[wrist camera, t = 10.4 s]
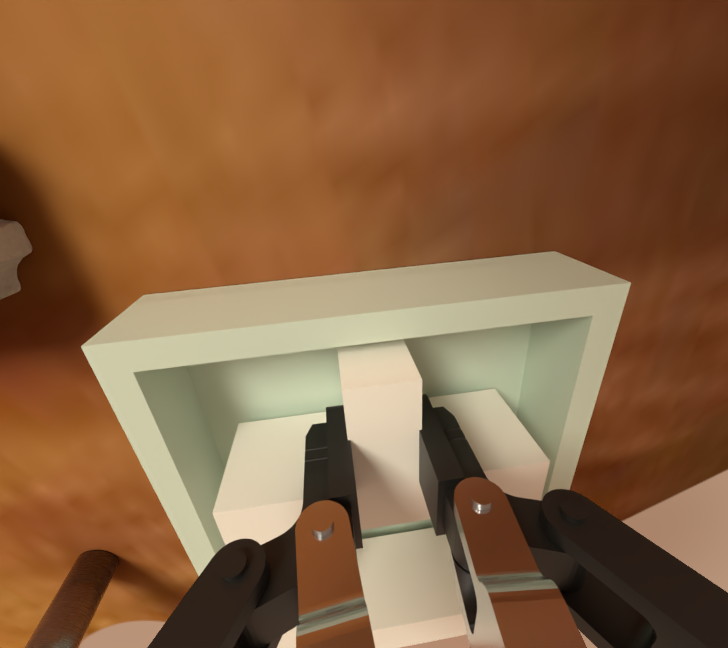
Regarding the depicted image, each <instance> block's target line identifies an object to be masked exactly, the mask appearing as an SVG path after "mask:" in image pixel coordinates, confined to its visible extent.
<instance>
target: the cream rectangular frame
mask: <svg viewBox="0 0 728 648" xmlns="http://www.w3.org/2000/svg"><path fill="white" fill-rule="evenodd" d="M337 350H338V360H339V369H340V379H341V388H342V397H343V405H344V413H345V422H346V430H347V438H348V440H351V449H352V457H353V465H354V474H355V482H356V491H357V499H358V508H359V517H360V525H361V530H366V529H372V528H378V527H384V526H390V525H397V524H403V523H409V522H415V521H421V520H427V519H431V518H430V515H429V512H428V509H427V506H426V502H425V499H424V496H423V493H422V489H421V486H420V483H419V430H422V378H421V376H420V374H419V372H418V369H417V367H416V365H415V363H414V361H413V359H412V357H411V355H410V352H409V350H408V348H407V346H406V344H405V342H404V340H403V339H400V340H391V341H383V342H375V343H367V344H359V345H351V346H343V347H337ZM429 400H430V402H431V405H432V407H433V408H435V407H444V408H446V409H447V410H448V411H449V412H450V413H452V414H453V415H454V416H455V418H456V420H457V422H458V424H459V426H460V429H461V430H462V431H463V433H464V435H465V438H466V439H467V441H468V443H469V445H470V447H471V449H472V450H473V452H474V454H475V456H476V458H477V460H478V462H479V464H480V466H481V468H482V470H483V471H484V473H485V475H486V477H487V478H488V480H489V481H491V482H493V483H495V484H496V485H497V486H499V487H500V488H501V489H502V491H503V492H504V493H507V494H509V495H512V496H516V497H521V498H528V499H534V500H541V497H542V493H543V489H544V485H545V481H546V477H547V473H548V468H549V464H550V460H549V459H548V458H547V456H546V455H545V454H544V452H543V451H542V450H541V448H540V447H539V446H538V444H537V443H536V442H535V440H534V439H533V438H532V437H531V435H530V434H529V433H528V431H527V430H526V429H525V427H524V426H523V425H522V423H521V422H520V421H519V420H518V418H517V417H516V416H515V414H514V413H513V412H512V410H511V409H510V408H509V406H508V405H507V404H506V403H505V401H504V400H503V399H502V397H501V396H500V395H499V393H498V392H497V391H496V389H489V390H482V391H474V392H467V393H459V394H452V395H445V396H437V397H430V398H429ZM318 423H326V412H319V413H312V414H304V415H297V416H290V417H282V418H275V419H267V420H260V421H253V422H245V423H239V424H238V427H237V431H236V434H235V438H234V441H233V445H232V448H231V451H230V455H229V458H228V462H227V465H226V468H225V472H224V475H223V479H222V482H221V485H220V489H219V492H218V496H217V499H216V503H215V506H214V509H213V513H212V514H213V516H214V519H215V521H216V524H217V526H218V529H219V531H220V533H221V536H222V538H223V541H224V543H225V545H227V544H228V543H230V542H232V541H235V540H238V539H244V538H246V539H252V540H255V541H257V542H258V543H259V544H260V545H262V544H264V543H266V542H268V541H270V540H272V539H274V538H276V537H278V536H280V535H282V534H283V533H285V532H286V531H287V530H289V529H290V528H291V527H292V526H293V525H294V523H295V522H296V521H297V519H298V518H299V516H300V513H301V511H302V506H303V488H304V463H305V437H306V435H307V433H308V431H309V429H310V427H311V426H312V424H318ZM362 543H363V548H360V549H356V551H357V561H358V568H359V573H360V578H361V583H362V588H363V593H364V598H365V602H366V605H367V609H368V614H369V619H370V623H371V629H372V634H373V639H374V644H375V648H398V647H404V646H409V645H414V644H420V643H425V642H430V641H435V640H440V639H445V638H450V637H456V636H461V635H466V634H467V631H466V627H465V623H464V618H463V614H462V610H461V605H460V601H459V597H458V593H457V588H456V584H455V580H454V575H453V571H452V567H451V563H450V546H449V543H448V540H447V537H446V534H445V535H439V536H436V534H435V531H434V528H427V529H421V530H415V531H409V532H403V533H397V534H391V535H385V536H379V537H373V538H367V539H362ZM296 627H297V626H296ZM296 627H295V628H293V629H291V630H290V631H288V632H286V633H285V634H283V635H282V637H281V640H280V642H279V644H278V646H277V648H296Z"/></svg>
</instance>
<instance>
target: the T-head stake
mask: <svg viewBox="0 0 728 648" xmlns="http://www.w3.org/2000/svg"><path fill="white" fill-rule="evenodd" d="M118 564H119V561H118V559H117V557H116V556H114V555H113V554H111V553H109V552H105V551H100V550H93V551H87V552H84V553H82V554H81V555H80V556H79V557H78V558H77V560H76V562H75V564H74V565H73V567H72V569H71V570H70V572H69V574H68V575H67V577H66V579H65V580H64V582H63V584H62V586H61V587H60V589H59V591H58V592H57V594H56V596H55V597H54V599H53V601H52V602H51V604H50V606H49V608H48V609H47V611H46V613H45V614H44V616H43V618H42V619H41V621H40V623H39V624H38V626H37V628H36V630H35V631H34V633H33V635H32V636H31V638H30V640H29V641H28V643H27V645H26V646H25V648H78V647H79V645H80V643H81V641H82V639H83V637H84V635H85V633H86V630H87V628H88V626H89V624H90V622H91V620H92V618H93V616H94V614H95V612H96V610H97V608H98V606H99V604H100V601H101V599H102V597H103V595H104V593H105V591H106V589H107V587H108V585H109V583H110V581H111V579H112V577H113V575H114V572H115V570H116V568H117V566H118Z"/></svg>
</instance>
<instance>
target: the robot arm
mask: <svg viewBox="0 0 728 648" xmlns="http://www.w3.org/2000/svg"><path fill="white" fill-rule="evenodd" d="M419 483H420V486H421V489H422V493H423V496H424V499H425V502H426V506H427V509H428V512H429V515H430V518H431V522H432V525H433V528H434V531H435V534H436V536H439V535H445V534H446V537H447V540H448V543H449V546H450V563H451V567H452V571H453V575H454V580H455V584H456V588H457V593H458V597H459V601H460V605H461V610H462V614H463V618H464V623H465V627H466V631H467V635H468V641H469V648H587V647H586V645H585V643H584V641H583V638H582V636H581V634H580V632H579V630H580V631H581V632H582V633H583V634H584V635H585V636H586V637H587V638H588V639H589V640H590V641H591V642H592V643H593V644H594V645H595V646H596V647H597V648H728V593H727V592H726V591H724V590H723V589H721V588H720V587H718V586H717V585H715V584H713V583H712V582H711V581H709V580H708V579H706V578H705V577H704V576H702V575H701V574H699V573H697V572H696V571H695V570H693V569H692V568H690V567H689V566H687V565H686V564H684V563H683V562H681V561H679V560H678V559H676V558H675V557H674V556H672V555H671V554H669V553H668V552H666V551H665V550H663V549H662V548H660V547H659V546H657V545H656V544H654V543H653V542H651V541H650V540H648V539H647V538H645V537H644V536H642V535H641V534H639V533H638V532H636V531H635V530H633V529H632V528H630V527H629V526H628V525H626V524H625V523H623V522H622V521H620V520H619V519H617V518H616V517H614V516H613V515H611V514H610V513H608V512H607V511H605V510H604V509H602V508H601V507H599V506H598V505H596V504H595V503H593V502H592V501H590V500H589V499H587V498H586V497H584V496H582V495H581V494H578V493H576V492H574V491H571V490H566V489H555V490H551V491H549V492H548V493H546V494H545V496H544V497H543V500H542V501H541V500H534V499H528V498H521V497H516V496H512V495H509V494H507V493H504V492H503V491H502V489H501V488H500V487H499V486H497V485H496V484H495V483H493V482H491V481H489V480H488V478H487V477H486V475H485V473H484V471H483V470H482V468H481V466H480V464H479V462H478V460H477V458H476V456H475V454H474V452H473V450H472V449H471V447H470V445H469V443H468V441H467V439H466V438H465V435H464V433H463V431H462V430H461V429H460V426H459V424H458V422H457V420H456V418H455V416H454V415H453V414H452V413H450V412H449V411H448V410H447V409H446V408H444V407H435V408H433V407H432V405H431V402H430V400H429V398H428V396H427V395H426V394H422V430H419ZM360 548H363V543H362V534H361V525H360V517H359V508H358V499H357V491H356V482H355V474H354V465H353V457H352V449H351V440H348V438H347V430H346V422H345V413H344V405H338V406H331V407H326V423H318V424H312V426H311V427H310V429H309V431H308V433H307V435H306V437H305V463H304V488H303V506H302V511H301V513H300V516H299V518H298V519H297V521H296V522H295V523H294V525H293V526H292V527H291V528H290V529H289V530H287V531H286V532H285V533H283V534H282V535H280V536H278V537H276V538H274V539H272V540H270V541H268V542H266V543H264V544H262V545H260V544H259V543H258V542H257V541H255V540H252V539H246V538H244V539H238V540H235V541H232V542H230V543H228V544H227V545H225V546H224V547H222V548H221V549H220V550H219V551H218V552H217V553H216V554H215V555H214V556H213V558H212V559H211V560H210V562H209V563H208V565H207V566H206V567H205V569H204V570H203V572H202V573H201V574H200V576H199V577H198V578H197V580H196V581H195V583H194V584H193V585H192V587H191V588H190V589H189V591H188V592H187V594H186V595H185V596H184V598H183V599H182V601H181V602H180V603H179V605H178V606H177V607H176V609H175V610H174V612H173V613H172V614H171V616H170V617H169V619H168V620H167V621H166V623H165V624H164V625H163V627H162V628H161V630H160V631H159V632H158V634H157V635H156V637H155V638H154V639H153V641H152V642H151V644H150V645H149V646H148V648H277V646H278V644H279V642H280V640H281V637H282V635H283V634H285V633H286V632H288V631H290V630H291V629H293V628H295V627H296V626H297V627H296V648H375V644H374V639H373V634H372V629H371V623H370V619H369V614H368V609H367V605H366V602H365V598H364V593H363V588H362V583H361V578H360V573H359V568H358V561H357V551H356V549H360ZM578 629H579V630H578Z"/></svg>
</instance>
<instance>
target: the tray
mask: <svg viewBox="0 0 728 648" xmlns="http://www.w3.org/2000/svg"><path fill="white" fill-rule="evenodd" d="M630 285H631V282H629V281H626V280H624V279H621V278H619V277H616V276H614V275H612V274H609V273H607V272H604V271H602V270H599V269H597V268H595V267H592V266H590V265H587V264H585V263H582V262H580V261H578V260H575V259H573V258H570V257H568V256H565V255H563V254H560V253H558V252H556V251H552V252H542V253H533V254H524V255H514V256H505V257H495V258H486V259H477V260H467V261H458V262H448V263H439V264H430V265H420V266H411V267H402V268H392V269H383V270H373V271H364V272H355V273H345V274H336V275H326V276H317V277H308V278H298V279H289V280H279V281H270V282H261V283H251V284H242V285H232V286H223V287H214V288H204V289H195V290H185V291H176V292H167V293H157V294H148V295H143V296H142V297H141V298H139V299H138V300H137V301H136V302H134V303H133V304H132V305H131V306H130V307H128V308H127V309H126V310H125V311H123V312H122V313H121V314H120V315H119V316H117V317H116V318H115V319H114V320H112V321H111V322H110V323H109V324H108V325H106V326H105V327H104V328H103V329H101V330H100V331H99V332H98V333H97V334H95V335H94V336H93V337H92V338H90V339H89V340H88V341H87V342H86V343H84V344H83V345H82V346H81V348H82V350H83V352H84V354H85V356H86V358H87V360H88V362H89V364H90V365H91V367H92V369H93V371H94V373H95V375H96V377H97V379H98V381H99V383H100V385H101V387H102V389H103V391H104V393H105V395H106V397H107V399H108V400H109V402H110V404H111V406H112V408H113V410H114V412H115V414H116V416H117V418H118V420H119V422H120V424H121V426H122V428H123V430H124V432H125V434H126V436H127V437H128V439H129V441H130V443H131V445H132V447H133V449H134V451H135V453H136V455H137V457H138V459H139V461H140V463H141V465H142V467H143V469H144V471H145V472H146V474H147V476H148V478H149V480H150V482H151V484H152V486H153V488H154V490H155V492H156V494H157V496H158V498H159V500H160V502H161V504H162V506H163V508H164V509H165V511H166V513H167V515H168V517H169V519H170V521H171V523H172V525H173V527H174V529H175V531H176V533H177V535H178V537H179V539H180V541H181V543H182V544H183V546H184V548H185V550H186V552H187V554H188V556H189V558H190V560H191V562H192V564H193V566H194V568H195V570H196V572H197V574H198V576H200V574H201V573H202V572H203V570H204V569H205V567H206V566H207V565H208V563H209V562H210V560H211V559H212V558H213V556H214V555H215V554H216V553H217V552H218V551H219V550H220V549H221V548H222V547H224V546H225V543H224V541H223V538H222V536H221V533H220V531H219V529H218V526H217V524H216V521H215V519H214V516H213V514H212V513H213V509H214V506H215V503H216V499H217V496H218V492H219V489H220V485H221V482H222V479H223V475H224V472H225V468H226V465H227V462H228V458H229V455H230V451H231V448H232V445H233V441H234V438H235V434H236V431H237V427H238V424H239V423H245V422H253V421H260V420H267V419H275V418H282V417H290V416H297V415H304V414H312V413H319V412H326V407H331V406H338V405H343V397H342V388H341V379H340V369H339V360H338V350H337V347H343V346H351V345H359V344H367V343H375V342H383V341H391V340H400V339H403V340H404V342H405V344H406V346H407V348H408V350H409V352H410V355H411V357H412V359H413V361H414V363H415V365H416V367H417V369H418V372H419V374H420V376H421V378H422V394H426V395H427V396H428V398H430V397H437V396H445V395H452V394H459V393H467V392H474V391H482V390H489V389H496V391H497V392H498V393H499V395H500V396H501V397H502V399H503V400H504V401H505V403H506V404H507V405H508V406H509V408H510V409H511V410H512V412H513V413H514V414H515V416H516V417H517V418H518V420H519V421H520V422H521V423H522V425H523V426H524V427H525V429H526V430H527V431H528V433H529V434H530V435H531V437H532V438H533V439H534V440H535V442H536V443H537V444H538V446H539V447H540V448H541V450H542V451H543V452H544V454H545V455H546V456H547V458H548V459H549V460H550V464H549V468H548V473H547V477H546V481H545V485H544V489H543V493H542V497H541V501H542V500H543V497H544V496H545V494H546V493H548V492H549V491H551V490H555V489H566V490H570V487H571V483H572V480H573V476H574V473H575V470H576V466H577V463H578V460H579V456H580V453H581V450H582V446H583V443H584V439H585V436H586V433H587V429H588V426H589V423H590V419H591V416H592V413H593V409H594V406H595V403H596V399H597V396H598V392H599V389H600V386H601V382H602V379H603V376H604V372H605V369H606V366H607V362H608V359H609V355H610V352H611V349H612V345H613V342H614V339H615V335H616V332H617V329H618V325H619V322H620V318H621V315H622V312H623V308H624V305H625V302H626V298H627V295H628V292H629V288H630ZM427 528H433V525H432V522H431V519H427V520H421V521H415V522H409V523H403V524H397V525H390V526H384V527H378V528H372V529H366V530H361V534H362V539H367V538H373V537H379V536H385V535H391V534H397V533H403V532H409V531H415V530H421V529H427Z"/></svg>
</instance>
